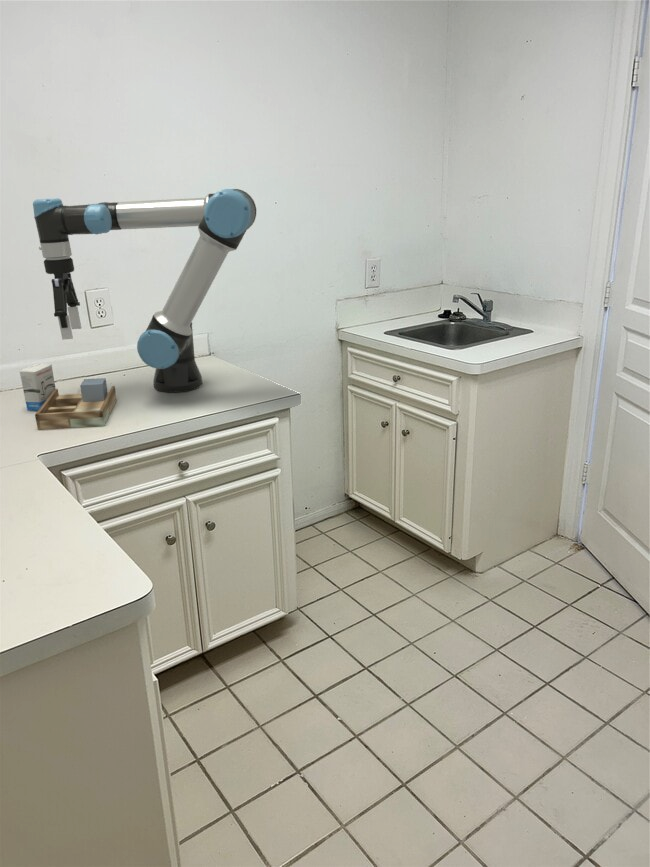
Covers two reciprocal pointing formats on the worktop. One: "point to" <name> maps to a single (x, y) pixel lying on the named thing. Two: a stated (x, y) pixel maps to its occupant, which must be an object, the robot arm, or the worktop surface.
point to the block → (94, 390)
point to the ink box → (37, 384)
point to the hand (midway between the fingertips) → (72, 333)
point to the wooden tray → (74, 411)
